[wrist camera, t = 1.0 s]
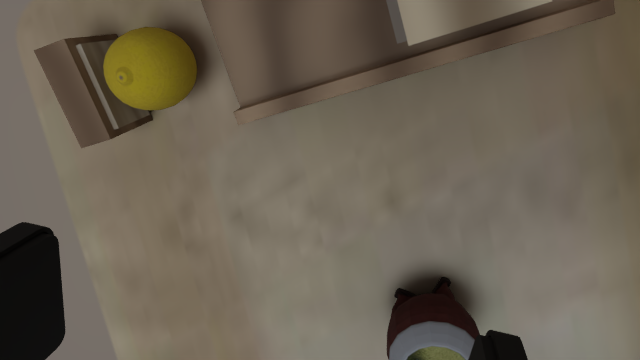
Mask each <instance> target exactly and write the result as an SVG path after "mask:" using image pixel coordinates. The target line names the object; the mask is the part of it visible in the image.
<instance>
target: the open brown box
mask: <svg viewBox="0 0 640 360" xmlns="http://www.w3.org/2000/svg"><path fill="white" fill-rule="evenodd" d="M117 38H118V37H117V35H116V34H111V35H101V36H90V37H79V38H68V39H62V40H60V41H57V42H55V43H52V44H50V45H47V46H44V47H42V48H39V49H37V50H34V52H35V54H36V56H37V58H38V60H39V62H40V64H41V66H42V68H43V70H44V72H45V75H46V77H47V79H48V81H49V83H50V85H51V87H52V89H53V91H54V93H55V95H56V97H57V99H58V101H59V103H60V105H61V107H62V109H63V111H64V114H65V116H66V118H67V120H68V122H69V124H70V126H71V128H72V130H73V132H74V134H75V136H76V138H77V140H78V142H79V144H80V146H81V148H84V147H87V146H90V145H93V144H97V143H100V142H103V141H106V140H110V139H112V138H114V137H116V136H119V135H121V134H123V133H125V132H127V131H130V130H132V129H134V128H136V127H138V126H141V125H143V124H145V123H147V122H149V121H152V120H153V119H152V116H151V114H150V112H149V110H142V109H138V108H133V107H131V106H129V105H127V104H125V103H123V102H122V101H121V100H120V99H118V98H117V97H116V96H115V95H114V94H113V92H112V91H111V90H110V88H109V86H108V85H107V83H106V80H105V76H104V68H103V64H104V59H105V55H106V53H107V51H108V49H109V47H110V46H111V45H112V44H113V42H114V41H115V40H116V39H117Z"/></svg>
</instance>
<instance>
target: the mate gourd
mask: <svg viewBox="0 0 640 360" xmlns="http://www.w3.org/2000/svg"><path fill="white" fill-rule="evenodd" d="M450 284H451V282H450V280H449V279H448V278H445V277H442V278H441V279H440V280H439V282H438V284H437V285H436V287H435V288H434V290H433V292H432V293H426V294H422V295H418V296H417V295H415V294H412V293H410V292H408V291H406V290H403V289H400V288H399V289H397V291H396V293H395V297H396V298H397V301H396V303H395V305H394V307H393V309H392V314H391V319H390V323H389V327H388V332H387V356H388V359H389V360H468V359H469V356H470V353H471V350H472V347H473V344H474V341H475V339H476V337H477V335H480V334H479V331H478V328H477V326H476V323H475V321H474V320H473V318H472V317H471V316H470V315H469V313H468V312H467V311H466V310H465V309H464V308H463V307H462V306H461V305H460V304H459V303H458V302H457V301H456V300H455V298H454V296H453V294H452V292H451V290H450V289H449V286H450Z"/></svg>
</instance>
